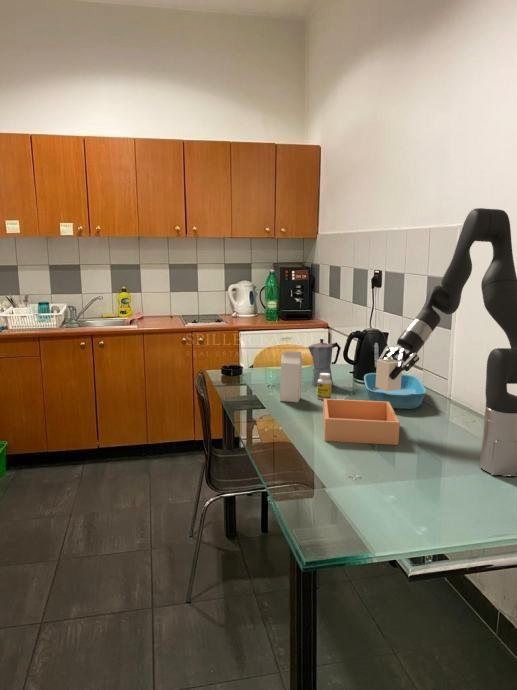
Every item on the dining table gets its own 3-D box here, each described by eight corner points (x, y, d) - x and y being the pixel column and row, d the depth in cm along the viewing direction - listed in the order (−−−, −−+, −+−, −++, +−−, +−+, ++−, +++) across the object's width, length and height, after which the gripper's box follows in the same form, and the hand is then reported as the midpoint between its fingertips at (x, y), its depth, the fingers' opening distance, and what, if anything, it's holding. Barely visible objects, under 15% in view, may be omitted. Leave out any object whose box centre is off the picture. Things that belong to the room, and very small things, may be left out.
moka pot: (301, 383, 230) (303, 337, 226) (331, 380, 237) (334, 336, 233) (312, 389, 222) (314, 341, 218) (344, 385, 228) (346, 339, 224)
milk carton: (298, 402, 202) (299, 353, 198) (279, 401, 203) (281, 352, 200) (300, 397, 209) (302, 350, 205) (282, 396, 210) (284, 349, 206)
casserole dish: (361, 385, 230) (362, 369, 228) (415, 389, 226) (416, 372, 225) (365, 411, 194) (366, 392, 192) (429, 415, 191) (430, 396, 189)
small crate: (388, 385, 176) (390, 358, 174) (400, 389, 171) (402, 361, 169) (375, 387, 173) (377, 359, 171) (387, 391, 168) (389, 363, 167)
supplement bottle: (314, 398, 207) (315, 374, 206) (319, 395, 212) (321, 371, 210) (328, 401, 205) (329, 376, 203) (332, 397, 210) (334, 373, 208)
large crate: (398, 444, 161) (399, 422, 159) (324, 440, 163) (325, 418, 161) (387, 421, 182) (389, 401, 181) (322, 418, 184) (323, 398, 183)
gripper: (393, 325, 178) (363, 364, 175) (425, 332, 166) (394, 373, 162) (404, 340, 182) (375, 378, 178) (436, 347, 169) (406, 388, 166)
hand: (384, 375), depth 170 cm, fingers closed on small crate, 5 cm apart
